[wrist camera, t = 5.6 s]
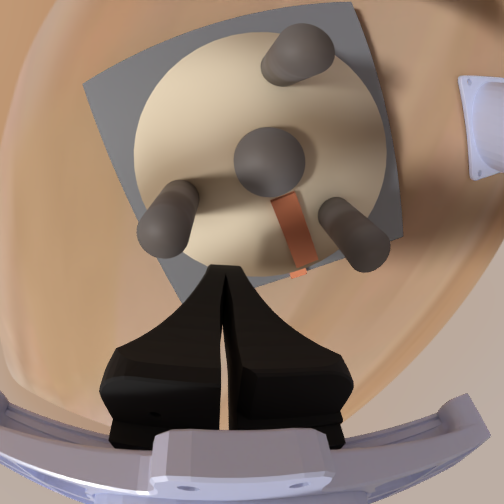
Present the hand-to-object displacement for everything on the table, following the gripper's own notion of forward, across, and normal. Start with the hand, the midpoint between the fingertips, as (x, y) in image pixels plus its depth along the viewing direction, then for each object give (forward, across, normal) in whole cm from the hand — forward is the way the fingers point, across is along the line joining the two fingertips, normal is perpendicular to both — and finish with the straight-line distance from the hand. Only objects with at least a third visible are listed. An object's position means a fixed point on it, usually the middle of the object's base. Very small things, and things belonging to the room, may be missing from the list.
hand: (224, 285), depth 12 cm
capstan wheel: (+4, -2, -5) cm, 7 cm away
